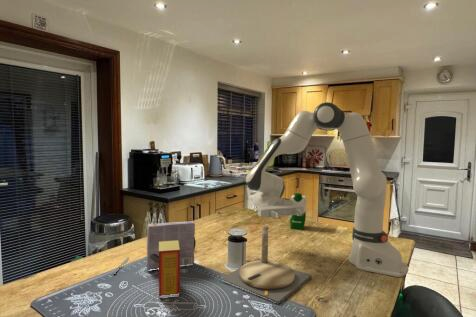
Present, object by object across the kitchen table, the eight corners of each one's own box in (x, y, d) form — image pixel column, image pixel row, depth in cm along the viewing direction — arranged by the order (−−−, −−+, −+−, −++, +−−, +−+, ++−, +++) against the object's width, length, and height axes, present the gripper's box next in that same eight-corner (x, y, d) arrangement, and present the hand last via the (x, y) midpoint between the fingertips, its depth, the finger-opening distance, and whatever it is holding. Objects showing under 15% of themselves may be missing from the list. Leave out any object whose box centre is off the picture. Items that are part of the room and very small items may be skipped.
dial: (304, 273, 116) (305, 233, 114) (276, 295, 100) (277, 248, 99) (259, 259, 128) (260, 222, 127) (228, 277, 112) (228, 235, 111)
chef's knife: (135, 256, 135) (128, 256, 134) (135, 254, 134) (128, 253, 134) (120, 276, 115) (112, 276, 115) (120, 273, 115) (112, 273, 115)
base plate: (311, 277, 116) (311, 274, 116) (278, 304, 97) (278, 300, 97) (258, 260, 131) (258, 257, 131) (220, 281, 112) (220, 277, 112)
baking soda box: (159, 284, 109) (159, 240, 107) (178, 283, 110) (178, 239, 109) (159, 299, 100) (158, 250, 98) (179, 296, 101) (179, 248, 100)
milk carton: (288, 229, 175) (289, 193, 173) (290, 224, 184) (291, 191, 182) (304, 230, 172) (305, 195, 171) (305, 226, 181) (306, 192, 180)
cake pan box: (194, 260, 130) (194, 219, 128) (197, 265, 125) (197, 222, 123) (146, 267, 123) (146, 223, 121) (147, 272, 118) (147, 227, 116)
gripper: (252, 201, 132) (266, 208, 119) (293, 198, 140) (311, 205, 127) (251, 215, 133) (266, 224, 120) (293, 212, 140) (311, 220, 127)
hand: (289, 214), depth 123 cm, fingers open, 8 cm apart
